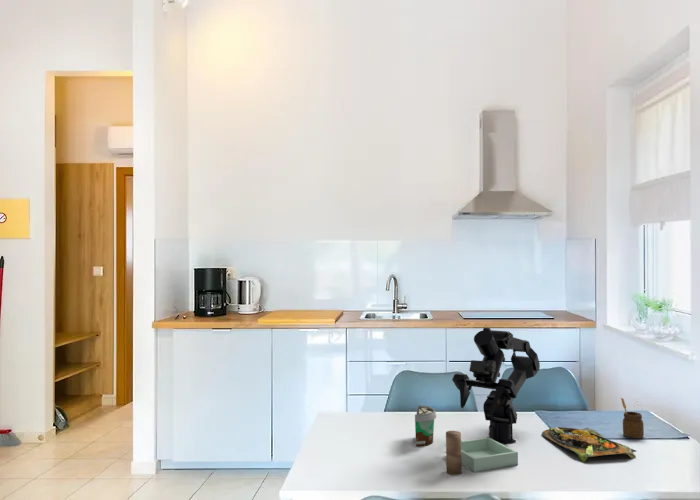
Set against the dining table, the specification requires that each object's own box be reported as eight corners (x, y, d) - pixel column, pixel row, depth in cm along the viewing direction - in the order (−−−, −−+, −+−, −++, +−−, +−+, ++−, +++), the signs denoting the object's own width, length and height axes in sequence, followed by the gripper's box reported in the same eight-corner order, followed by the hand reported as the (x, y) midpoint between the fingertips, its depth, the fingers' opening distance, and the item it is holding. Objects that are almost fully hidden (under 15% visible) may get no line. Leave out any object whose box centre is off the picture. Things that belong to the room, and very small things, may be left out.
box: (488, 449, 166) (488, 437, 166) (518, 464, 153) (517, 452, 153) (447, 455, 161) (447, 443, 161) (474, 472, 148) (474, 459, 148)
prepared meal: (535, 422, 181) (587, 419, 183) (536, 433, 181) (587, 429, 183) (581, 455, 153) (641, 450, 155) (581, 468, 153) (641, 463, 155)
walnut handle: (456, 468, 151) (456, 430, 151) (464, 473, 147) (463, 434, 147) (443, 470, 150) (443, 431, 150) (451, 476, 146) (450, 436, 146)
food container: (435, 449, 167) (435, 415, 167) (415, 448, 168) (414, 415, 168) (437, 436, 179) (437, 405, 179) (418, 435, 180) (418, 404, 180)
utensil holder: (647, 438, 173) (646, 400, 173) (627, 438, 173) (626, 400, 174) (638, 432, 179) (637, 395, 179) (618, 433, 179) (617, 395, 179)
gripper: (454, 346, 170) (437, 390, 162) (512, 352, 159) (497, 399, 150) (466, 367, 176) (450, 410, 168) (523, 374, 165) (510, 421, 156)
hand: (476, 410), depth 160 cm, fingers open, 9 cm apart
